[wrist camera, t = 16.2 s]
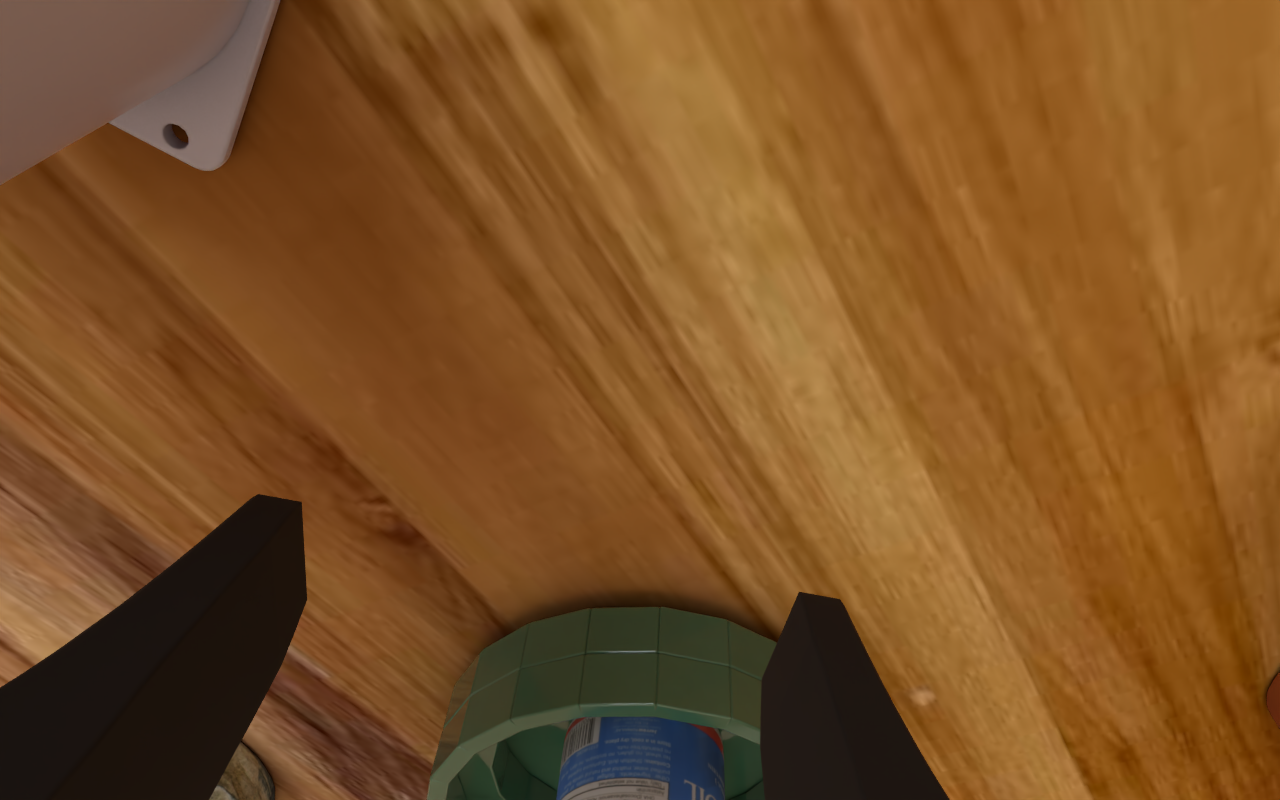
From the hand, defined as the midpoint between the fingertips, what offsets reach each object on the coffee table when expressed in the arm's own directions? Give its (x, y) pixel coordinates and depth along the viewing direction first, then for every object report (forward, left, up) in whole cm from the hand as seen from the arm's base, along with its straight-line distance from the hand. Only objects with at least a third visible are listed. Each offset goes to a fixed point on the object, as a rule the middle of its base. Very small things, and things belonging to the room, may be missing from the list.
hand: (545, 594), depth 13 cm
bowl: (+10, -14, -9) cm, 19 cm away
